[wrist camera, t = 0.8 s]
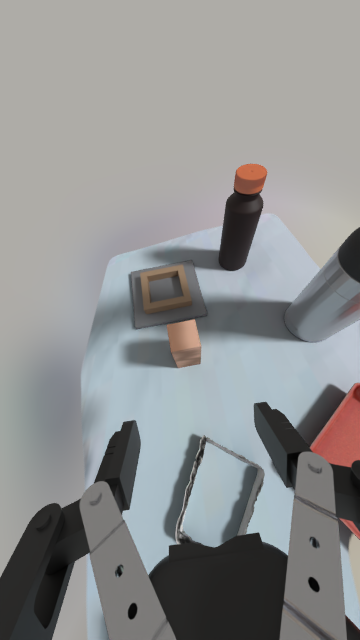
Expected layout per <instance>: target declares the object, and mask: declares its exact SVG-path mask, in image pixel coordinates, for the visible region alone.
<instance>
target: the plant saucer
mask: <svg viewBox="0 0 360 640" xmlns="http://www.w3.org/2000/svg"><path fill="white" fill-rule="evenodd" d="M309 448H310V449H311V450H312V451H313V453H316V454H318V455H320V456H322V457H323V458H324V459H325V460H327V462H328V463H331V464H335V465H341V466H347V467H351V466H352V463H353V462H354V461H356V460H360V383H355V384H354V385H353V386H352V388H351V389H350V391H349V392H348V393H347V395H346V396H345V398H344V399H343V401H342V402H341V403H340V405H339V406H338V408H337V409H336V410H335V412H334V413H333V415H332V416H331V418H330V419H329V420H328V422H327V423H326V425H325V426H324V427H323V429H322V430H321V432H320V433H319V434H318V436H317V437H316V439H315V440H314V441H313V443H312V444H311V446H310V447H309ZM339 519H340V520H341V521H342V522H343V523H344V524H345V525H346V526H347V527H348V528H349V529H350V530H351V531H352V532H353V533H354V534H355V536H357V538H358V539H359V540H360V532H359V531H358V529H357V527H356V526H355V524H354V523H353V521H349V520H345V519H341V518H339Z"/></svg>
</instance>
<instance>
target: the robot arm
mask: <svg viewBox="0 0 360 640" xmlns="http://www.w3.org/2000/svg"><path fill="white" fill-rule="evenodd" d="M284 320H285V324H286V326H287V328H288V329H289V330H290V332H291V333H292V334H294V335H295V336H296V337H298V338H300V339H302V340H305V341H308V342H320V341H323V340H325V339H327V338H329V337H330V336H332V335H334V334H336V333H337V332H339V331H341V330H343V329H344V328H346V327H348V326H350V325H351V324H353V323H355V322H356V321H358V320H360V227H359V228H358V229H356V230H355V231H354V232H353V233H352V234H351V235H350V236H349V237H348V238H347V239H346V240H345V242H344V243H343V244H342V245H341V246H340V247H339V249H338V250H337V251H336V252H335V253H334V255H333V256H332V257H331V258H330V259H329V261H328V262H327V263H326V264H325V265H324V266H323V268H322V269H321V270H320V271H319V272H318V273H317V275H316V276H315V277H314V278H313V279H312V280H311V282H310V283H309V284H308V285H307V286H306V287H305V289H304V290H303V291H302V292H301V293H300V294H299V296H298V297H297V298H296V299H295V300H294V301H293V303H292V304H291V305H290V306H289V307H288V309H287V310H286V312H285V315H284ZM254 422H255V427H256V430H257V432H258V434H259V436H260V438H261V440H262V442H263V444H264V446H265V448H266V450H267V452H268V454H269V455H270V457H271V459H272V461H273V463H274V465H275V467H276V469H277V471H278V473H279V475H280V477H281V478H282V480H283V482H284V484H285V486H286V488H288V487H293V488H294V489H295V495H294V502H293V512H292V522H291V533H290V543H289V553H288V555H286V554H285V553H284V552H283V551H281V550H280V549H278V548H276V547H274V546H273V545H270V544H268V543H265V542H262V541H261V537H260V534H259V533H253V534H246V535H239V536H236V537H234V538H232V539H230V540H229V541H227V542H225V543H223V544H222V545H220V546H218V547H215V548H214V547H209V546H204V545H200V544H196V543H184V544H177V545H170V546H169V556H167V557H165V558H164V559H163V560H161V561H160V562H159V563H158V564H157V565H156V566H155V567H154V569H153V570H152V571H151V572H150V574H149V575H148V574H147V572H146V569H145V567H144V565H143V562H142V560H141V558H140V555H139V553H138V551H137V548H136V546H135V544H134V541H133V539H132V537H131V534H130V532H129V529H128V527H127V525H126V523H125V521H124V520H123V518H122V512H123V511H124V510H129V509H130V503H131V498H132V492H133V487H134V481H135V475H136V470H137V464H138V459H139V453H140V446H141V442H140V435H139V431H138V427H137V423H136V421H135V420H133V421H126V422H123V425H122V428H121V431H118V432H115V433H114V435H113V436H112V437H111V439H110V441H109V444H108V446H107V449H106V452H105V456H104V457H103V460H102V463H101V465H100V468H99V471H98V474H97V476H96V479H95V482H94V484H93V485H91V486H90V487H89V488H88V489H87V490H86V491H85V493H84V494H83V496H82V498H81V499H79V500H78V501H76V502H74V503H72V504H70V505H68V506H66V507H64V508H61V507H60V505H59V504H56V503H53V504H49V505H47V506H45V507H44V508H42V509H41V510H40V511H38V512H37V513H36V514H35V516H34V517H33V518H32V520H31V521H30V522H29V524H28V526H27V528H26V530H25V532H24V533H23V535H22V537H21V539H20V541H19V543H18V545H17V547H16V549H15V551H14V553H13V555H12V556H11V558H10V560H9V562H8V564H7V566H6V568H5V570H4V572H3V574H2V576H1V577H0V640H52V637H53V633H54V630H55V627H56V623H57V620H58V616H59V613H60V610H61V606H62V603H63V600H64V596H65V593H66V590H67V586H68V583H69V579H70V576H71V573H72V569H73V566H74V563H75V561H76V560H78V559H79V558H81V557H83V556H85V555H86V554H88V553H90V559H91V564H92V568H93V572H94V576H95V581H96V585H97V589H98V593H99V597H100V602H101V606H102V610H103V614H104V618H105V622H106V627H107V631H108V635H109V639H110V640H360V630H359V629H358V628H357V627H356V625H355V624H354V623H353V622H352V621H351V620H350V619H349V618H348V617H347V616H346V615H345V606H344V593H343V579H342V565H341V552H340V538H339V525H338V518H341V519H345V520H349V521H353V523H354V524H355V526H356V527H357V529H358V531H359V532H360V460H356V461H354V462H353V463H352V466H351V467H347V466H341V465H335V464H331V463H328V462H327V460H325V459H324V458H323V457H322V456H320V455H318V454H316V453H313V451H312V450H311V449H310V448H309V446H308V445H307V444H306V442H305V441H304V440H303V439H302V437H301V436H300V435H299V433H298V432H297V431H296V429H294V427H293V426H292V424H291V423H290V422H289V420H288V419H287V418H286V416H285V415H284V414H283V413H281V412H280V411H278V410H277V409H273V410H272V409H271V408H270V406H269V405H268V404H267V402H261V403H254Z"/></svg>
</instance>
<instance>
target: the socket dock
mask: <svg viewBox="0 0 360 640" xmlns="http://www.w3.org/2000/svg"><path fill="white" fill-rule="evenodd" d="M131 278H132V292H133V306H134V319H135V328H136V329H141V328H146V327H151V326H156V325H161V324H166V323H171V322H176V321H181V320H186V319H191V318H196V317H201V316H207V312H206V308H205V305H204V301H203V298H202V294H201V290H200V287H199V283H198V280H197V276H196V272H195V269H194V265H193V262H192V260H189V261H184V262H179V263H174V264H169V265H164V266H159V267H154V268H149V269H144V270H139V271H134V272H131Z"/></svg>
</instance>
